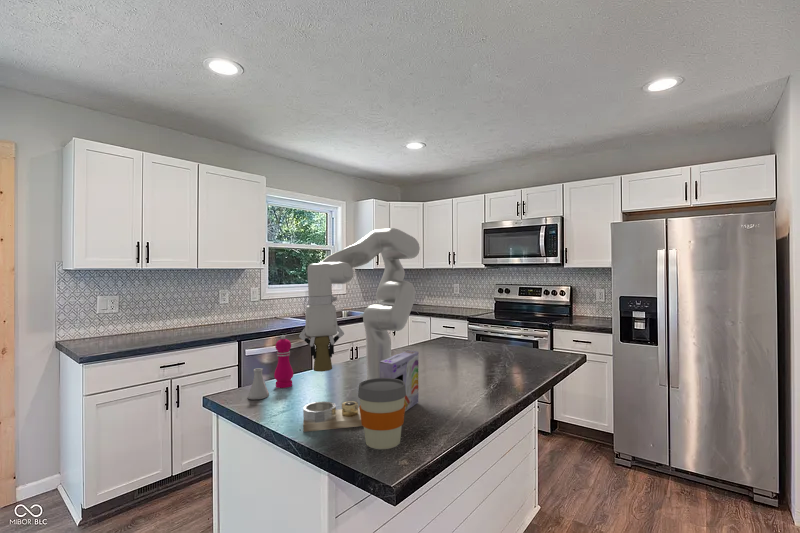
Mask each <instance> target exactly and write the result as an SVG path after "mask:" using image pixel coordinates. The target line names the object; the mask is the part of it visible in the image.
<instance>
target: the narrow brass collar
mask: <svg viewBox="0 0 800 533" xmlns="http://www.w3.org/2000/svg"><path fill="white" fill-rule="evenodd" d="M358 408H359V403H358V402H357V401H355V400H354V401H345V402H342V403H341V409H342V416H345V417H353V416H356V415H358Z"/></svg>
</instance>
